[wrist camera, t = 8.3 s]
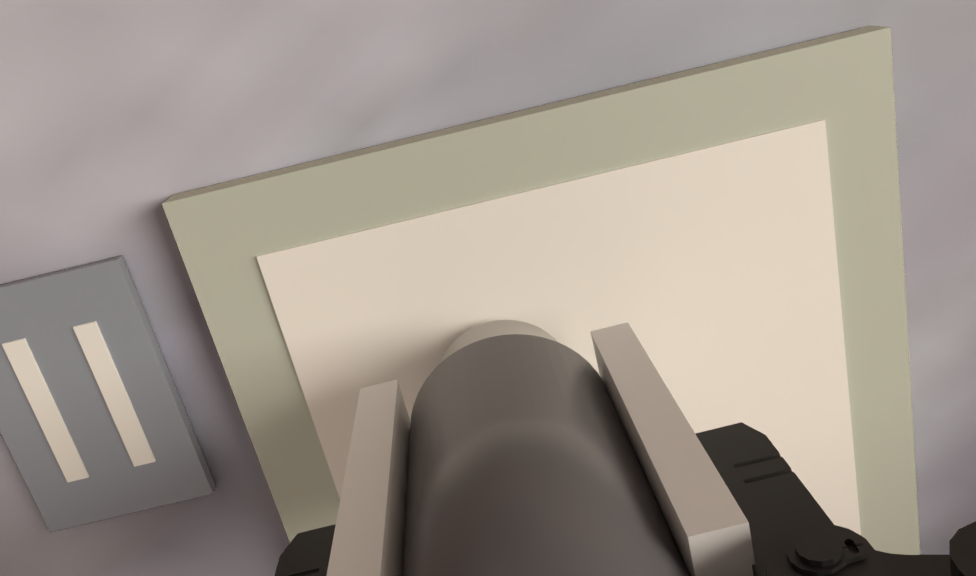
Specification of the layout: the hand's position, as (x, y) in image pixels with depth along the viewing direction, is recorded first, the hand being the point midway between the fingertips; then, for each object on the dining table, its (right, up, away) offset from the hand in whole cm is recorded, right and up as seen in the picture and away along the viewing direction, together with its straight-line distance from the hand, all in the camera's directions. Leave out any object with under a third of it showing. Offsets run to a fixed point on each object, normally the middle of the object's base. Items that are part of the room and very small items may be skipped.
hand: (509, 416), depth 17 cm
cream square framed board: (+2, -1, +4) cm, 4 cm away
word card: (-10, 0, +2) cm, 10 cm away
